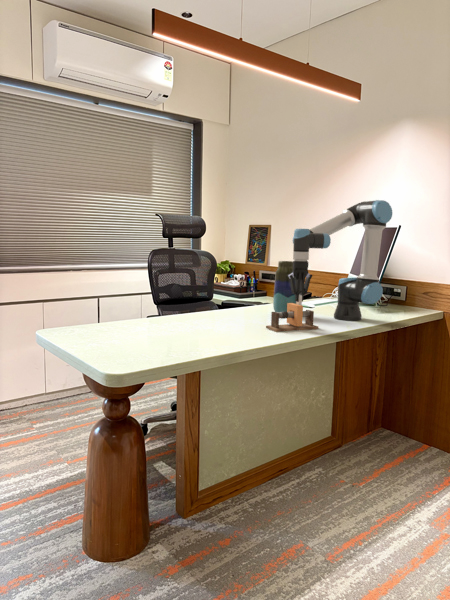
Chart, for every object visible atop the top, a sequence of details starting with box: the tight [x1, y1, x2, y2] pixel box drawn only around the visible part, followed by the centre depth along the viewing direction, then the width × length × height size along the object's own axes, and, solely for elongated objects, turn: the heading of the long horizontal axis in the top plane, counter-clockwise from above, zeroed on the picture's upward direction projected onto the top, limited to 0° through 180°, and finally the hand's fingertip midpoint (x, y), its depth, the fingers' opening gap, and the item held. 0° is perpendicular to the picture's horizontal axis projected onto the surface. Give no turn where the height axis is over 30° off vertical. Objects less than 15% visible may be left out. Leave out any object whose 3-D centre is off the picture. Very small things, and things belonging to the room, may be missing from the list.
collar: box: [286, 303, 304, 326], centre depth 228 cm, size 3×10×10 cm, turn 22°
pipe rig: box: [265, 309, 320, 333], centre depth 228 cm, size 24×10×9 cm, turn 112°
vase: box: [272, 260, 296, 312], centre depth 266 cm, size 14×14×31 cm
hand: (298, 308), depth 229 cm, fingers closed
